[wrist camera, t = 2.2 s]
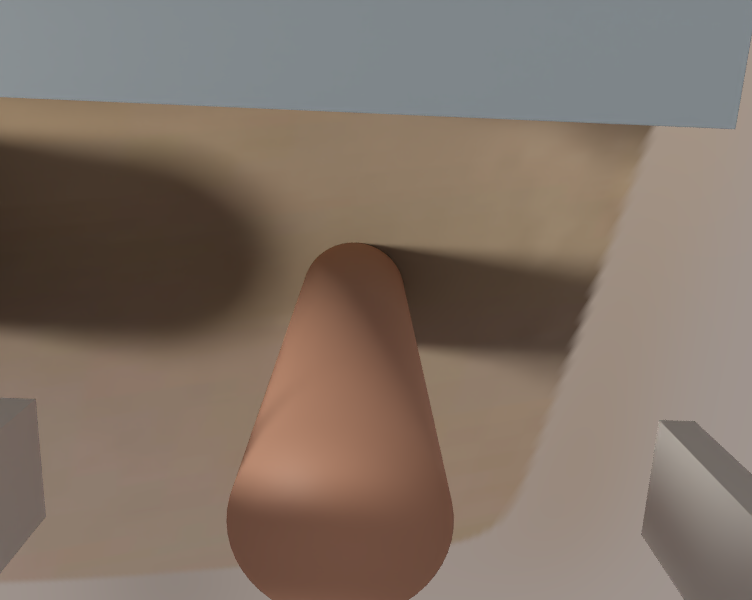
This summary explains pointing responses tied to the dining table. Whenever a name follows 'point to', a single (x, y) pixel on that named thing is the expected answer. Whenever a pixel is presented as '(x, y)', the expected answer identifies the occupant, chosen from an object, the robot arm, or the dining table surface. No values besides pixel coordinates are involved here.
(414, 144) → the dining table surface
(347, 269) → the peg
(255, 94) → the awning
